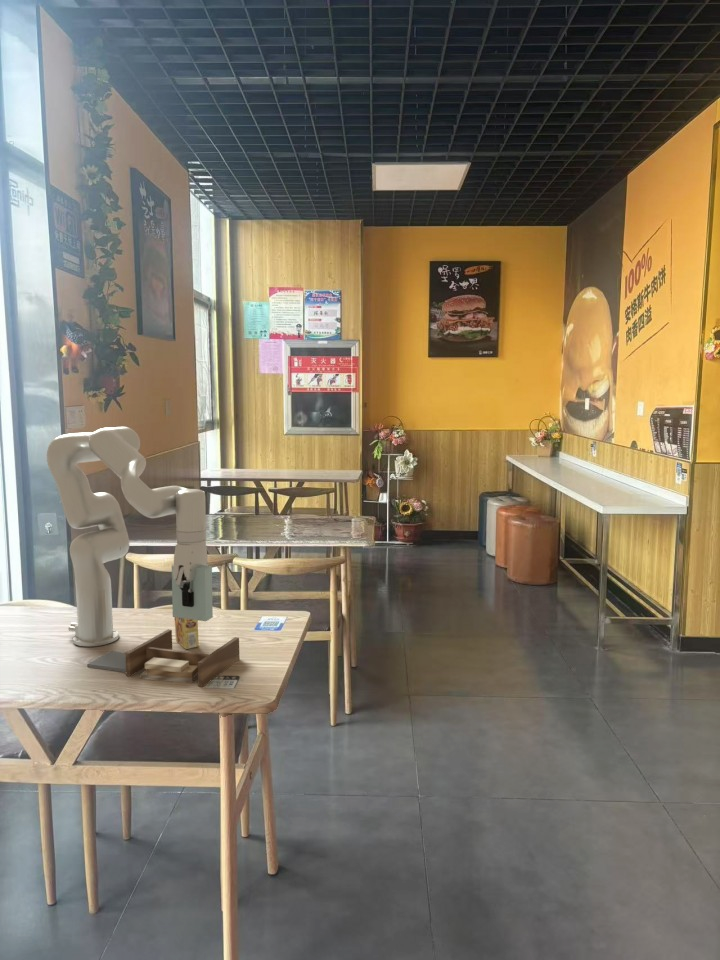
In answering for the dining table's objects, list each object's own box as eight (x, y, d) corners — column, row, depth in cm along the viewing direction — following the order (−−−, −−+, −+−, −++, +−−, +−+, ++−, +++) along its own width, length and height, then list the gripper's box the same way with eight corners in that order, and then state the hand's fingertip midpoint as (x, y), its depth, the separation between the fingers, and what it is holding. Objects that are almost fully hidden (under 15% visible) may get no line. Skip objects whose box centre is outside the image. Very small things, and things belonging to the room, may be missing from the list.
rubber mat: (87, 666, 188) (87, 663, 188) (111, 653, 198) (111, 650, 198) (129, 672, 184) (129, 669, 184) (152, 658, 194) (152, 656, 194)
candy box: (199, 647, 203) (197, 594, 201) (185, 650, 200) (183, 596, 198) (188, 638, 210) (186, 587, 208) (174, 640, 208) (172, 589, 206)
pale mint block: (172, 616, 192) (171, 565, 190) (179, 613, 195) (179, 562, 193) (205, 621, 188) (205, 569, 187) (212, 617, 192) (211, 566, 190)
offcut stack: (140, 679, 181) (139, 663, 180) (150, 671, 186) (149, 656, 185) (191, 684, 178) (191, 668, 177) (200, 676, 183) (200, 660, 182)
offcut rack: (126, 675, 182) (125, 653, 181) (168, 650, 200) (167, 629, 199) (202, 686, 175) (201, 663, 174) (239, 659, 193) (239, 637, 192)
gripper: (195, 529, 198) (196, 594, 200) (160, 541, 182) (162, 611, 185) (219, 531, 195) (220, 597, 198) (186, 544, 180) (187, 614, 182)
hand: (192, 603), depth 191 cm, fingers closed on pale mint block, 3 cm apart
